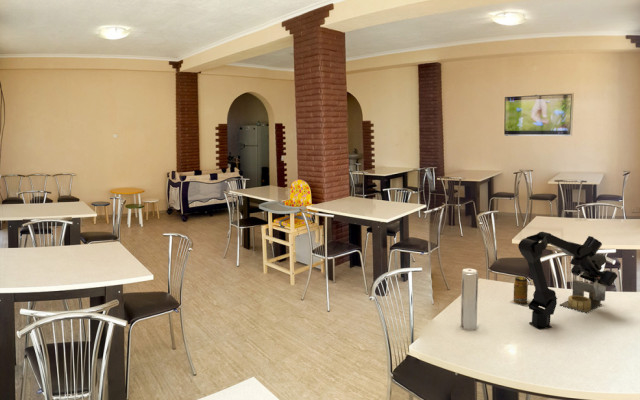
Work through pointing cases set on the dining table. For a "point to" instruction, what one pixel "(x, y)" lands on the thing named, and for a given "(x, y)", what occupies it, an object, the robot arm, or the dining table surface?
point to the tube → (598, 290)
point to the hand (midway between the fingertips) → (602, 284)
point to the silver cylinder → (469, 299)
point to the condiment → (520, 291)
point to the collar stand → (581, 297)
